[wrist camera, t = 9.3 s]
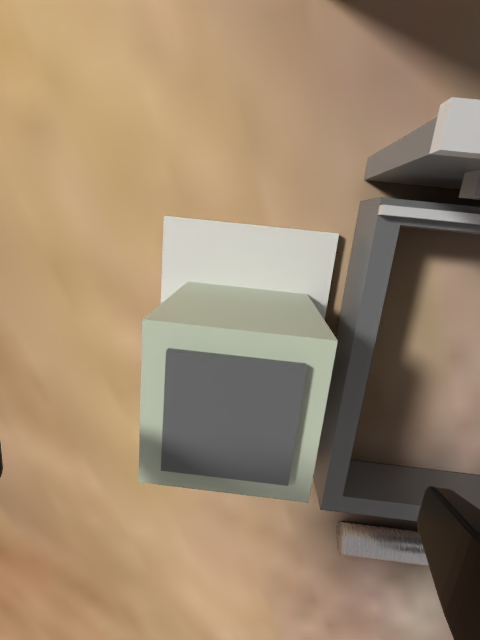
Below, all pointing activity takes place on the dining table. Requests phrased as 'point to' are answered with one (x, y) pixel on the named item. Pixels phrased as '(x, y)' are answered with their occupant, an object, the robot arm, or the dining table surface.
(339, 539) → the rod
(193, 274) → the pad
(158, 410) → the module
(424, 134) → the case lid open
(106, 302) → the dining table surface
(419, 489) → the case base
